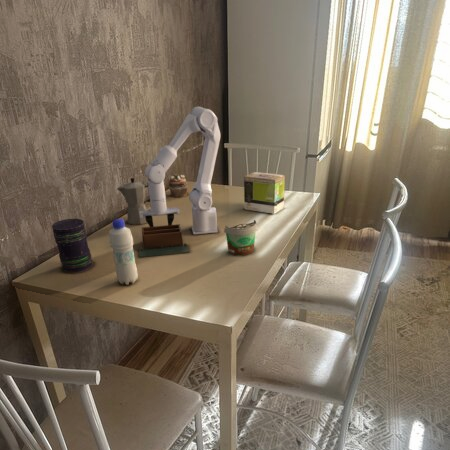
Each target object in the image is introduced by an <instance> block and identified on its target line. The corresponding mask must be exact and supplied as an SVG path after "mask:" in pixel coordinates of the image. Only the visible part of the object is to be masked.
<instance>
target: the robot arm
mask: <svg viewBox="0 0 450 450" xmlns="http://www.w3.org/2000/svg"><path fill="white" fill-rule="evenodd" d="M218 120H219V119H218V117H217V115H216V114H215V113H214V111H213V110H212V109H210V108H204V107H202V106H196V107H193V108H192V109H191V111H190V113H188V114H187V115H186V117H185V119H184V121H183V122H182V124H181V126H180V127H179V128H178V130H177V132H176V133H175V134H174V136H173V138H172V139H171V141H170V142H169V144H168V145H163V146H162V147H159V149H158V154H157V155H155V157H154V159H152V160H151V161H150V164H148V165H147V166H146V168H145V170H144V175H145V177H146V178H147V182H148V187H147V188H148V196H149V199H150V202H149V203H150V209H146V210H145V211H139V214H140V218H143V217H145V218H146V221H147V222H146V223H147V224H148V227H154V221H153V220H154V219H153V217H158V216H166V217H167V225H173V222H174V220H175V215H177V216H178V215H180V208H179V207H167V197H166V190H165V189H166V188H165V184H164V183H165V182H164V181H165V178H166V172H168V170H169V169H170V168H171V166H172V165H173V164H174V162H175V161H176V159H177V158H178V151H179V149H180V148H181V147H182V145H183V144H184V143H185V142H186V141H187V139H188V138H189V137H190V136H191V134H194V133H197V132H201V134H202V135H203V137H204V142H203V147H202V154H201V157H200V162H199V167H198V172H197V178H196V181H195V183H194V184H193V186H192V189H191V191H190V192H189V195H188V198H189V201H190V203H191V204H192V205H191V217H192V226H190V228H191V231H192V235H195V236H196V235H204V234H216V233H218V215H217V209H216V207H213V206H212V205H213V198H212V195H213V190H212V186H211V185H212V179H213V174H214V170H215V165H216V160H217V156H218V151H219V146H220V141H221V136H222V135H221V131H220V130H221V129H220V127H219V123H218Z"/></svg>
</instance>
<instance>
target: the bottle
mask: <svg viewBox="0 0 450 450" xmlns="http://www.w3.org/2000/svg"><path fill="white" fill-rule="evenodd" d="M108 233H109V244H110V248H111V249H112V254H113V260H114V266H115V275H116V279H117V281H118V283H120V284H121V285H126V286H129V283H131V284H132V285H133V284H135V282H137V281H138V279H139V275H138V269H137V264H136V258H135V253H134V247H133V246H134V237H133V235H132V231H131V229H130V228H129V227H126V224H125V220H124V219H123V218H115V219H114V220H113V221H112V229H110V230H109V232H108Z"/></svg>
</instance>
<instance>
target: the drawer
mask: <svg viewBox="0 0 450 450" xmlns="http://www.w3.org/2000/svg"><path fill="white" fill-rule="evenodd" d="M153 226H154V225H153ZM141 239H142V246H143V247H142V248H143V249H148V248H158V247H168V246H179V245H184V242H183V232H182V228H181V224H180V223H178V224H172V225H168V224H167V225H156V226H154V227H150V226H145V227H144V226H143V227H141Z"/></svg>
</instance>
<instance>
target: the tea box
mask: <svg viewBox="0 0 450 450" xmlns="http://www.w3.org/2000/svg"><path fill="white" fill-rule="evenodd" d="M285 176H286V175H285V174H279V173H270V172H260V171H254V172H251V173H249V174H247V175H244V176H243V201H244V203H243V205H244V206H243V207H244V210H246V211H254V212H261V213H267V214H272V215H275V214H276V213H278V212H280V211H282V210H283V209H284V206H285V184H286V183H285V181H286V180H285V179H286V178H285Z"/></svg>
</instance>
